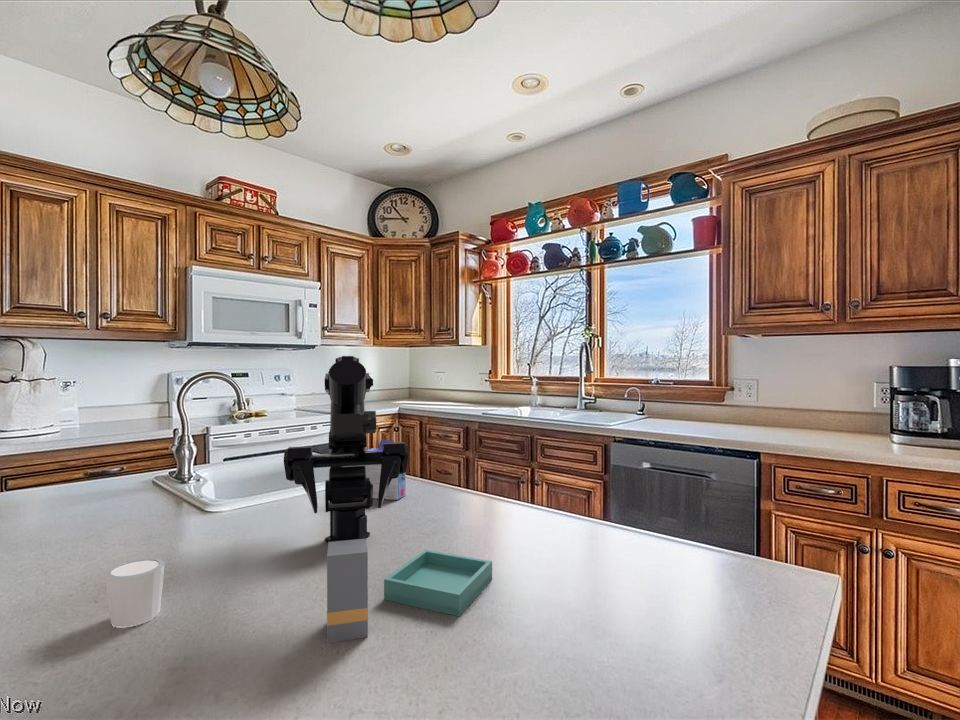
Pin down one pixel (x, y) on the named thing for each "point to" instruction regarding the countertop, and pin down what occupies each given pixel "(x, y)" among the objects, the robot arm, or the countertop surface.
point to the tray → (439, 582)
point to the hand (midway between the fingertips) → (348, 509)
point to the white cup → (135, 591)
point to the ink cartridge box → (396, 485)
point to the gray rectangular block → (347, 590)
